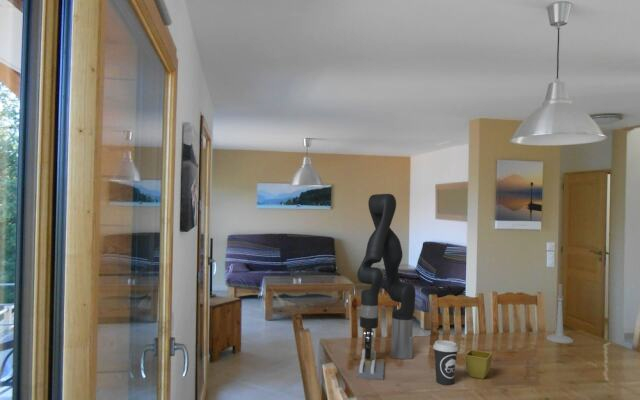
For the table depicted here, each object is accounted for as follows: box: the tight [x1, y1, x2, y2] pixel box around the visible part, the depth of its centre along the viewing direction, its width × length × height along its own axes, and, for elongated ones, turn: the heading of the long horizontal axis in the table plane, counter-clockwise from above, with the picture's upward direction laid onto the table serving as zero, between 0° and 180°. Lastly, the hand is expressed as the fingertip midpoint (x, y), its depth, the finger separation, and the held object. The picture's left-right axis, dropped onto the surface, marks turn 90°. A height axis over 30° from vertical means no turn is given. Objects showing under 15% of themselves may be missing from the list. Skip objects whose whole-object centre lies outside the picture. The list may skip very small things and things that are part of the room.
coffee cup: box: [432, 339, 460, 386], centre depth 184 cm, size 10×10×15 cm
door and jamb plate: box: [356, 348, 385, 380], centre depth 196 cm, size 10×21×6 cm, turn 171°
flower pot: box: [464, 349, 493, 380], centre depth 192 cm, size 9×9×9 cm
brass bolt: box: [364, 344, 373, 366], centre depth 200 cm, size 3×8×8 cm, turn 171°
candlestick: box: [545, 283, 574, 344], centre depth 253 cm, size 13×13×30 cm
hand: (368, 357), depth 198 cm, fingers closed on brass bolt, 3 cm apart
